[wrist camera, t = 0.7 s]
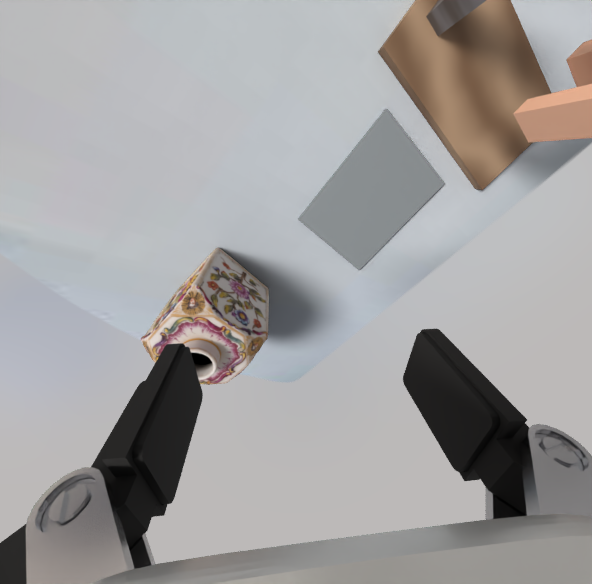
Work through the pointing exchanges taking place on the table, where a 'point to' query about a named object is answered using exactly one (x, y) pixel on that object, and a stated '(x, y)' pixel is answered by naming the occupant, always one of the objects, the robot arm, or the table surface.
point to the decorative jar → (214, 319)
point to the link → (562, 105)
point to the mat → (372, 193)
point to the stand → (468, 78)
